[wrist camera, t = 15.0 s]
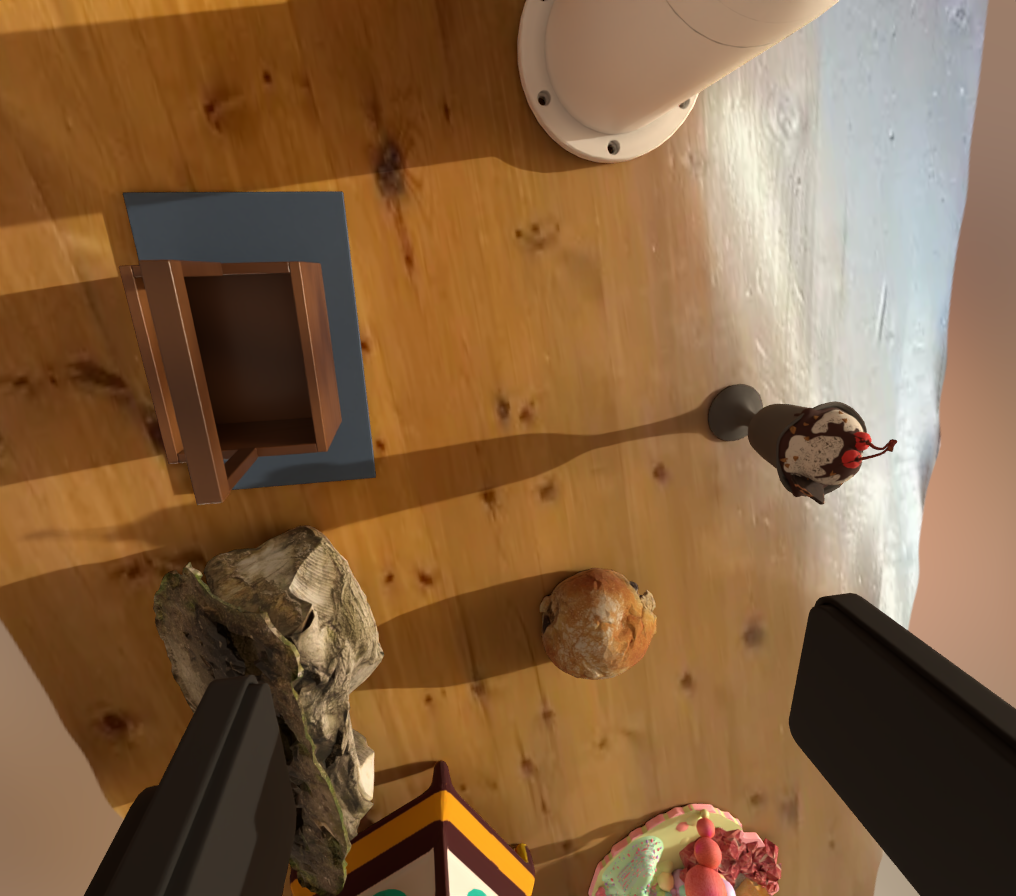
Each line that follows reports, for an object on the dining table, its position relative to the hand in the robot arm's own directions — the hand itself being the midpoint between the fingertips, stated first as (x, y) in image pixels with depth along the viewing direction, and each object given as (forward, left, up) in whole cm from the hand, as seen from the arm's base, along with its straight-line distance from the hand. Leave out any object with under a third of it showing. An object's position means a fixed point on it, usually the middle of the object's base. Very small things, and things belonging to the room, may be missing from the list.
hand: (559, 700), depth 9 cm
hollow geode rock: (+24, -14, -32) cm, 43 cm away
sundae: (+5, +24, -32) cm, 41 cm away
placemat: (-2, -12, -32) cm, 35 cm away
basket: (-2, -12, -32) cm, 34 cm away
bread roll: (+23, +12, -32) cm, 42 cm away
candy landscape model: (+64, +24, -32) cm, 76 cm away
